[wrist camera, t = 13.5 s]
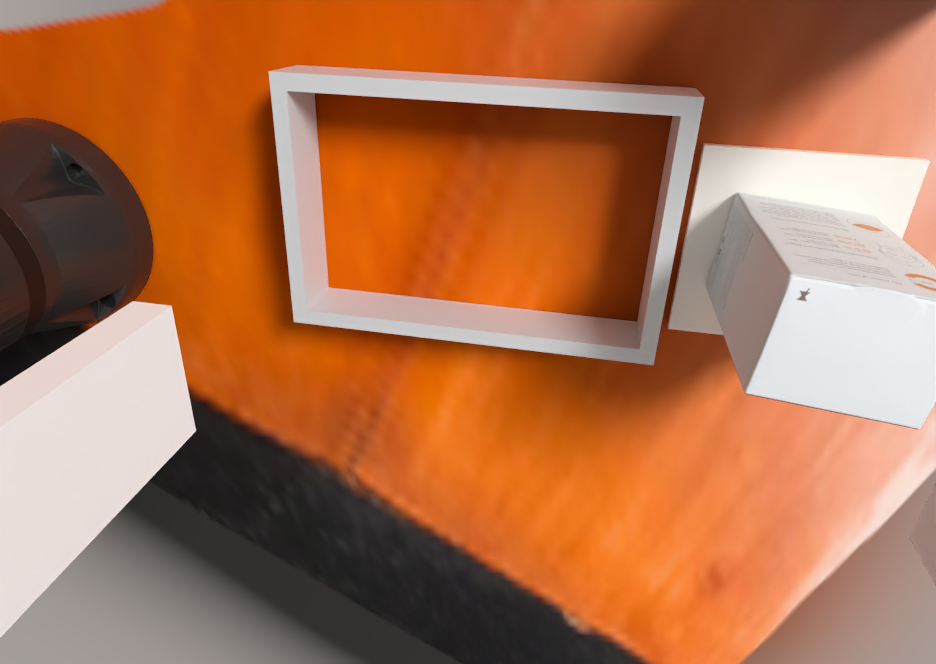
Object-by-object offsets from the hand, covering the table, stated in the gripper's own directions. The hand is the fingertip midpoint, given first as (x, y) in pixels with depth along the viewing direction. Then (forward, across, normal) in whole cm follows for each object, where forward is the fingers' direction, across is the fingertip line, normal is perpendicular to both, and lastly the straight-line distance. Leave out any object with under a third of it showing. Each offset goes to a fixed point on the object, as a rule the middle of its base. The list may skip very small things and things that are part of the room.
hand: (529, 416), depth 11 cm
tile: (+32, +13, -7) cm, 35 cm away
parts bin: (+32, -6, -6) cm, 33 cm away
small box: (+31, +13, -7) cm, 35 cm away
